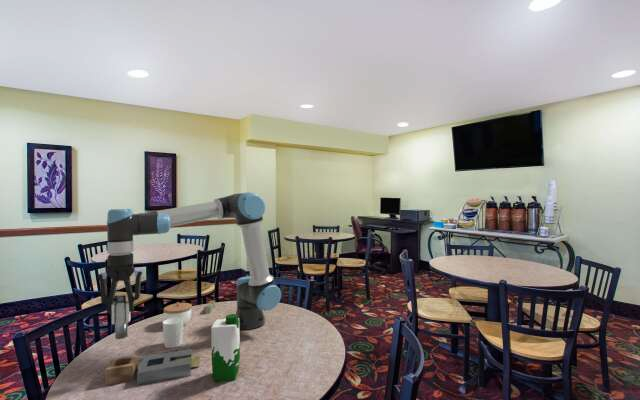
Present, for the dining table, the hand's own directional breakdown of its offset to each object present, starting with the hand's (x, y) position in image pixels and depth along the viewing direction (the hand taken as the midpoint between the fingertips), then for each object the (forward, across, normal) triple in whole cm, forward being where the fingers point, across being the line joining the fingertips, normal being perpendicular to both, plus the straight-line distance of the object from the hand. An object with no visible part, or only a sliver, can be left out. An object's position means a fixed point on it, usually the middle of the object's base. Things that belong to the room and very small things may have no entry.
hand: (121, 321), depth 109 cm
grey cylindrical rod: (+5, 0, 0) cm, 5 cm away
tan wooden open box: (+19, 0, 0) cm, 19 cm away
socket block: (+19, -13, +2) cm, 23 cm away
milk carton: (+19, -34, +12) cm, 41 cm away
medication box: (+19, -29, -61) cm, 70 cm away
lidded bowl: (+19, -14, -44) cm, 50 cm away
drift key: (+19, -21, +2) cm, 28 cm away
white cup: (+19, -14, -21) cm, 32 cm away
